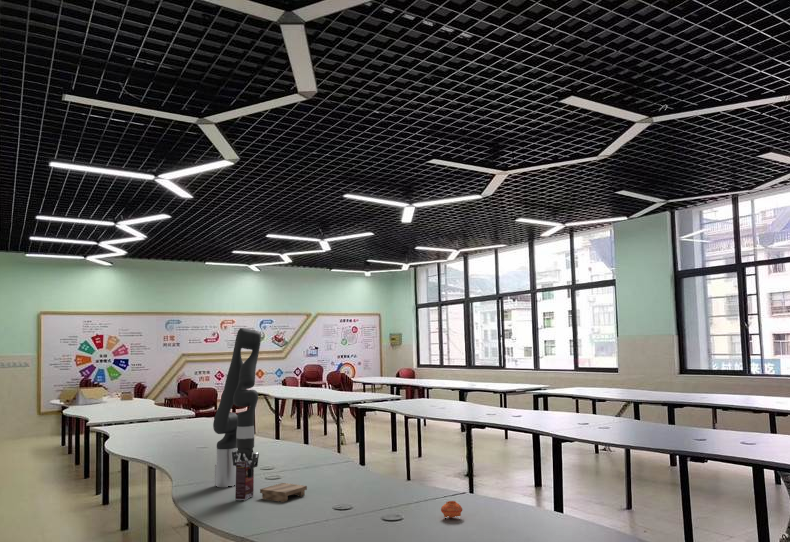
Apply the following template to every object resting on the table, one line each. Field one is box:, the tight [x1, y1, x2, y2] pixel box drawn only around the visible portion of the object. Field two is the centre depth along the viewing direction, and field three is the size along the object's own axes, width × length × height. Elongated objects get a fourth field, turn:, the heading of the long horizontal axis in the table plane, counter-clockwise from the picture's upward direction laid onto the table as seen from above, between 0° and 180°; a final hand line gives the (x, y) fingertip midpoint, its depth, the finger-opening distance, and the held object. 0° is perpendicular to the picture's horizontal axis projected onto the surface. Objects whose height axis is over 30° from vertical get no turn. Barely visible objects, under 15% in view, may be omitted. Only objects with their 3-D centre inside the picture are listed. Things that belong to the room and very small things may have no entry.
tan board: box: [259, 482, 308, 503], centre depth 268 cm, size 14×14×4 cm
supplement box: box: [234, 461, 255, 501], centre depth 267 cm, size 9×5×16 cm, turn 168°
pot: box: [440, 500, 464, 518], centre depth 230 cm, size 8×8×7 cm
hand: (245, 476), depth 267 cm, fingers closed on supplement box, 5 cm apart
